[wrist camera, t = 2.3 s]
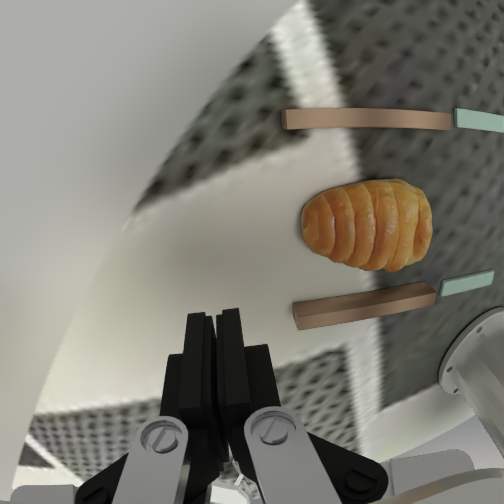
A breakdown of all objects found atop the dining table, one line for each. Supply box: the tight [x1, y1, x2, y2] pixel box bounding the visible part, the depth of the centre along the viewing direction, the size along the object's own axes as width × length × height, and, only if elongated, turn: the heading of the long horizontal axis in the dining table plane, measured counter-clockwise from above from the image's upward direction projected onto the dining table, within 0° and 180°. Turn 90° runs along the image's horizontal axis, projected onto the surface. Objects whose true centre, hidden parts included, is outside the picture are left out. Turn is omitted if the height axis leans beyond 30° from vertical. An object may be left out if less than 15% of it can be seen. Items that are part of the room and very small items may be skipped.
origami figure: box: [210, 458, 252, 504], centre depth 32 cm, size 12×8×5 cm
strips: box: [439, 108, 504, 297], centre depth 23 cm, size 7×16×1 cm, turn 5°
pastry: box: [301, 178, 433, 273], centre depth 21 cm, size 9×7×4 cm
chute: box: [280, 108, 451, 330], centre depth 22 cm, size 12×15×2 cm
